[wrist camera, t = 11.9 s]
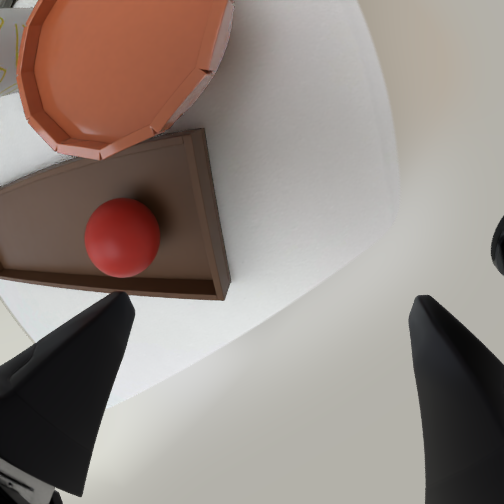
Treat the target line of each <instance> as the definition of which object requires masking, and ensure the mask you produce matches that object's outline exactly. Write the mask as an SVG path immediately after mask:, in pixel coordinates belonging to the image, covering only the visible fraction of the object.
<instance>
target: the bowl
mask: <svg viewBox="0 0 504 504" xmlns="http://www.w3.org/2000/svg"><path fill="white" fill-rule="evenodd" d="M233 3H234V0H38V2H37V3H36V5H35V7H34V9H33V10H32V12H31V14H30V16H29V18H28V20H27V21H26V23H25V24H26V25H27V26H25V27H24V29H23V34H22V39H21V44H20V49H19V56H18V62H17V70H16V75H18V76H17V77H16V80H17V85H18V89H19V94H20V98H21V102H22V106H23V109H24V113H25V117H26V120H28V119H29V120H28V123H29V124H30V125H31V127H32V128H33V129H34V130H35V131H36V132H37V133H38V134H39V135H40V136H41V137H42V138H43V139H44V141H45V142H46V143H47V144H48V145H49V146H50V147H51V148H52V149H53V150H54V151H57V153H60V154H66V155H72V156H77V157H83V158H88V159H94V160H99V161H100V160H102V159H103V160H104V159H106V158H108V157H110V156H112V155H115V154H117V153H119V152H121V151H123V150H125V149H127V148H129V147H131V146H133V145H136V144H138V143H140V142H142V141H145V140H147V139H149V138H152V137H154V136H156V135H159V134H161V133H164V132H165V131H166V130H167V129H170V127H171V126H172V125H173V124H174V122H175V121H176V120H177V119H178V118H180V117H181V116H182V115H183V114H184V113H185V112H186V111H187V110H188V109H189V108H190V107H191V106H192V105H193V104H194V103H195V102H196V100H197V99H198V98H199V96H200V95H201V94H202V92H203V91H204V90H205V89H206V87H207V86H208V84H209V82H210V81H211V79H212V78H213V77H214V74H215V73H216V72H217V69H218V67H219V64H220V62H221V60H222V58H223V56H224V53H225V50H226V47H227V44H228V42H229V38H230V33H231V28H232V20H233V11H234V8H235V6H234V5H233Z"/></svg>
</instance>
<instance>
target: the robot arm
mask: <svg viewBox="0 0 504 504" xmlns="http://www.w3.org/2000/svg"><path fill="white" fill-rule="evenodd" d="M502 242H503V243H502ZM498 245H499V249H500V253H501V257H502V261H503V265H504V235H503V236H502V237H501V238H500V239H499V241H498ZM134 318H135V309H134V307H133V305H132V303H131V301H130V298H129V296H128V294H127V293H126V292H124V291H114V292H112V293H111V294H109V295H107V296H106V297H104V298H103V299H101V300H100V301H98V302H96V303H95V304H93V305H92V306H90V307H89V308H87V309H86V310H84V311H82V312H81V313H79V314H78V315H76V316H75V317H73V318H72V319H70V320H69V321H67V322H66V323H64V324H63V325H61V326H60V327H58V328H57V329H55V330H54V331H52V332H51V333H49V334H48V335H46V336H45V337H44V338H42V339H41V340H39V341H38V342H37V343H35V344H33V345H32V346H30V347H29V348H28V349H26V350H25V351H23V352H22V353H20V354H19V355H17V356H16V357H14V358H12V359H11V360H9V361H8V362H6V363H4V364H3V365H1V366H0V504H63V503H62V500H61V497H60V494H59V492H57V491H56V490H54V489H55V487H56V488H58V489H61V490H63V491H65V492H68V493H70V494H73V495H76V496H78V497H82V494H83V490H84V485H85V481H86V477H87V472H88V468H89V464H90V460H91V456H92V452H93V448H94V444H95V441H96V437H97V434H98V430H99V427H100V424H101V420H102V417H103V414H104V411H105V408H106V405H107V401H108V398H109V395H110V392H111V390H112V387H113V384H114V381H115V378H116V375H117V372H118V370H119V367H120V364H121V361H122V359H123V356H124V353H125V349H126V346H127V342H128V339H129V335H130V331H131V328H132V324H133V321H134ZM409 330H410V338H411V347H412V357H413V367H414V373H415V378H416V385H417V391H418V396H419V404H420V410H421V419H422V428H423V438H424V452H425V473H426V476H425V477H426V488H425V490H426V491H425V504H504V365H503V364H502V363H501V362H500V360H499V359H498V358H497V357H496V356H495V355H494V354H493V353H492V352H491V351H490V350H489V349H488V348H486V346H485V345H484V344H483V343H482V342H481V341H479V339H477V338H476V337H475V336H474V335H473V334H472V333H471V332H470V331H469V330H468V329H467V328H466V327H465V326H464V325H463V324H462V323H461V322H459V321H458V320H457V319H456V318H455V317H454V316H453V315H452V314H451V313H449V312H448V311H447V310H446V309H445V308H444V307H443V306H442V305H440V304H439V303H438V302H437V301H436V300H435V299H434V298H432V297H431V296H430V295H418V296H417V297H416V298H415V300H414V303H413V306H412V309H411V312H410V315H409Z"/></svg>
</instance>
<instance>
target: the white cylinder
mask: <svg viewBox="0 0 504 504" xmlns="http://www.w3.org/2000/svg"><path fill="white" fill-rule="evenodd" d="M33 9H34V8H0V97H1V96H5V95H8V94H12V93H16V92H19V89H18V85H17V80H16V77H17V76H18V75H16V70H17V62H18V56H19V49H20V44H21V39H22V34H23V29H24V27H25V26H27V25H26V24H25V23H26V21H27V20H28V18H29V16H30V14H31V12H32V10H33Z"/></svg>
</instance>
